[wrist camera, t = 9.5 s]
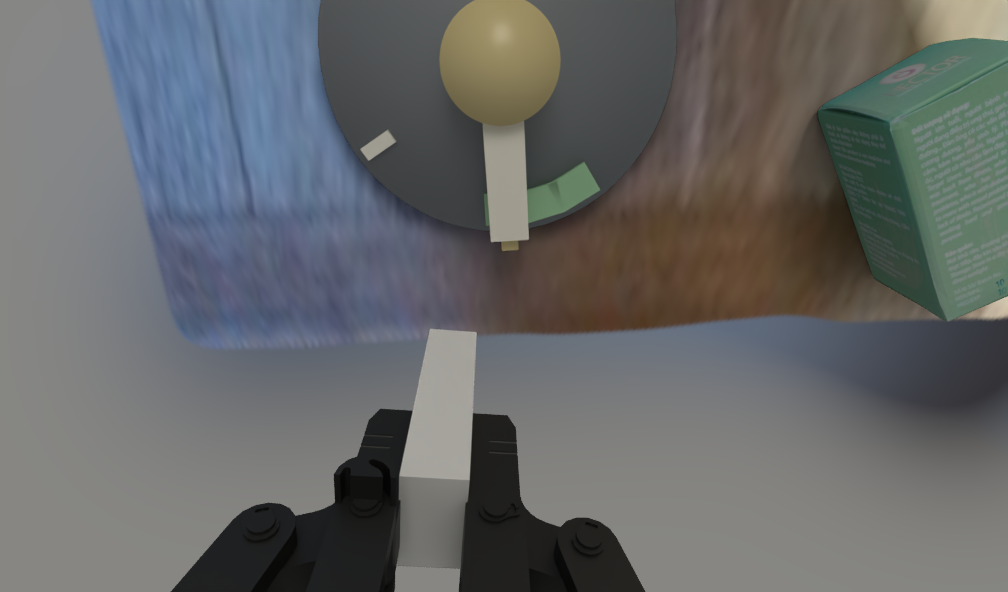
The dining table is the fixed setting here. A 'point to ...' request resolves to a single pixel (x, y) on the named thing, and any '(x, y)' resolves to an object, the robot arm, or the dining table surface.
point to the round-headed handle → (501, 95)
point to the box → (930, 173)
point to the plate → (459, 139)
